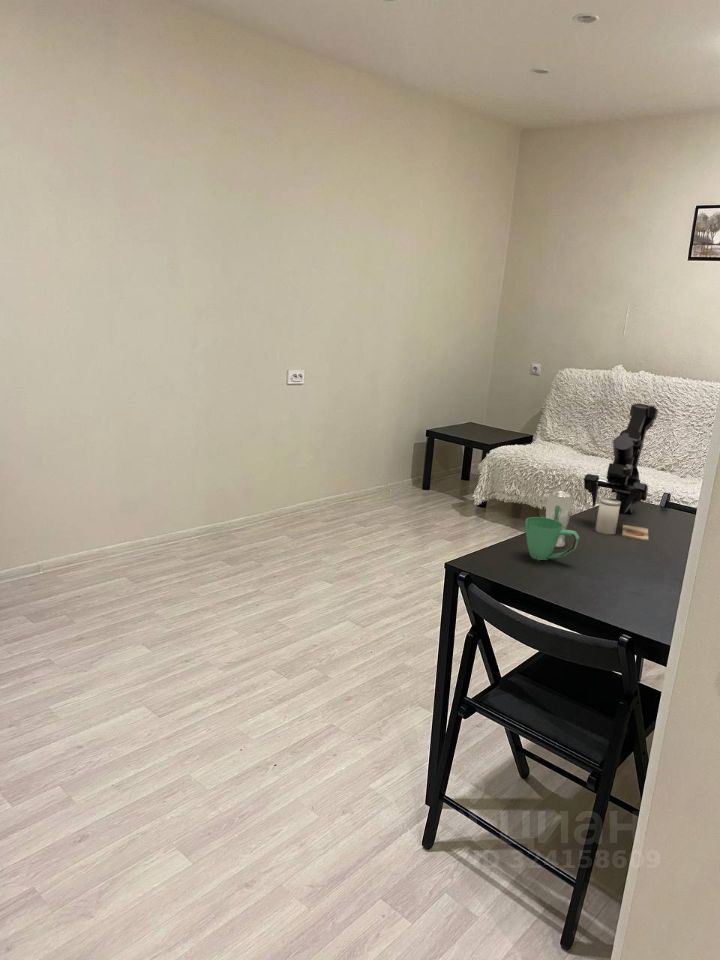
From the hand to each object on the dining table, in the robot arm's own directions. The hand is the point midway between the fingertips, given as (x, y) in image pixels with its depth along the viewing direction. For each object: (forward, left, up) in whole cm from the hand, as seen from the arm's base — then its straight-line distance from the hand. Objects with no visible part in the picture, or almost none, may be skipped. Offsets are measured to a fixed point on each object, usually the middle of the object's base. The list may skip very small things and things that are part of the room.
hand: (608, 509), depth 223 cm
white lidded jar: (-1, 0, -7) cm, 7 cm away
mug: (+36, -13, -7) cm, 39 cm away
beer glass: (+21, -13, -7) cm, 26 cm away
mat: (-4, +9, -7) cm, 12 cm away
